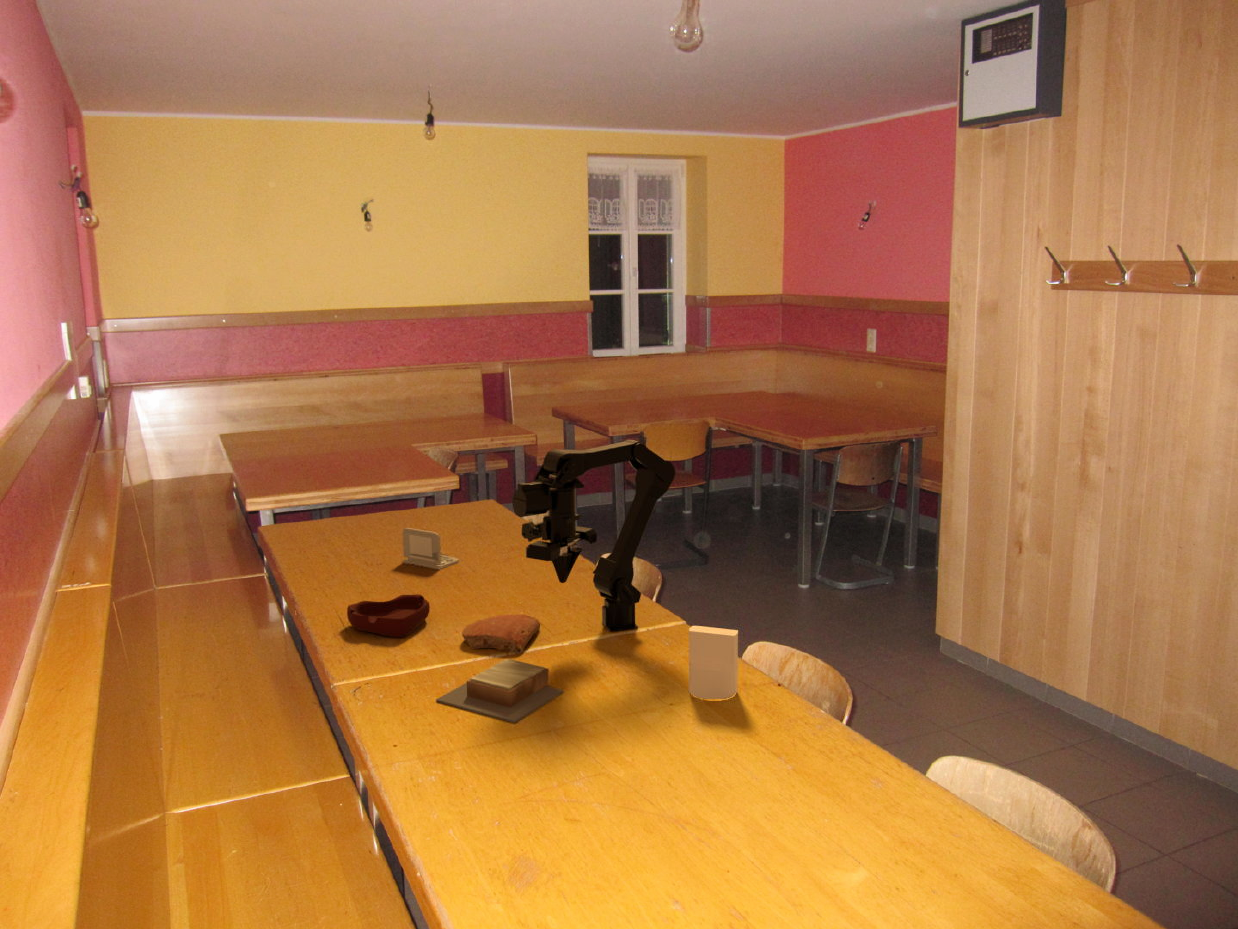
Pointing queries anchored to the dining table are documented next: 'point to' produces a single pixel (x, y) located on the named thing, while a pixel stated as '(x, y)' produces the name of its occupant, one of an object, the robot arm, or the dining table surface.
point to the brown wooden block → (508, 682)
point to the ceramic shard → (501, 632)
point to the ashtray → (389, 615)
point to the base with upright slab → (713, 662)
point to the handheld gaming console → (424, 549)
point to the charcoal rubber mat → (495, 710)
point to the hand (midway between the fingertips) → (562, 582)
